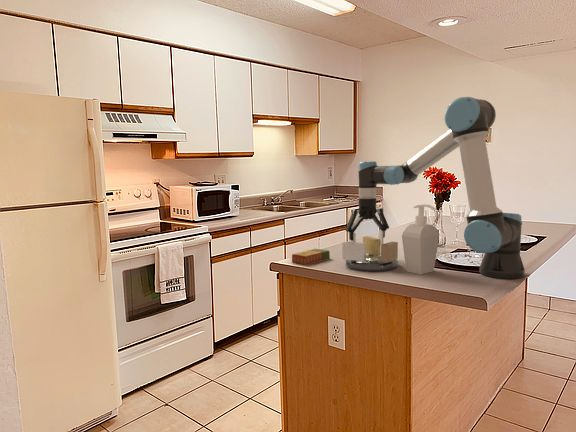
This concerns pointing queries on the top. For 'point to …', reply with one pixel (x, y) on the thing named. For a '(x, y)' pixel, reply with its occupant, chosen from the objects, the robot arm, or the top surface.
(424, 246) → the soap bottle
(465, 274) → the top surface
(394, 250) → the tan rectangular block
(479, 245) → the robot arm
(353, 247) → the knob
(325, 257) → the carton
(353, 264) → the dark grey plate
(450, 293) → the top surface
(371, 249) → the olive yellow block
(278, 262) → the top surface
